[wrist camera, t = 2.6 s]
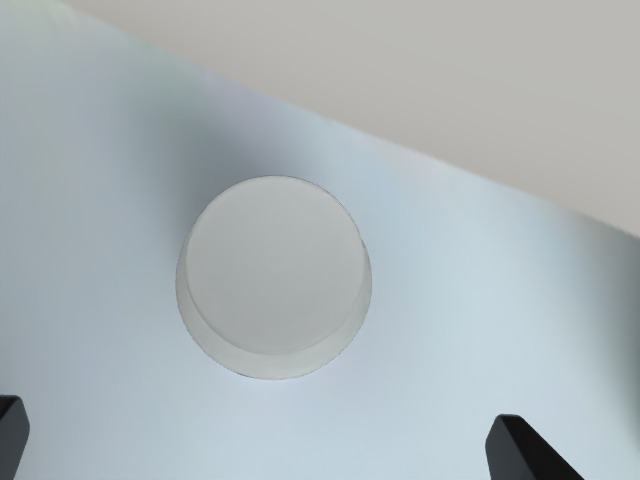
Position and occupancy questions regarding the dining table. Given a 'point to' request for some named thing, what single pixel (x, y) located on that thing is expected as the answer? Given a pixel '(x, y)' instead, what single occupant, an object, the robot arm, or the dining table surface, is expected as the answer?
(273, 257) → the pill bottle
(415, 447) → the dining table surface
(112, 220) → the dining table surface
